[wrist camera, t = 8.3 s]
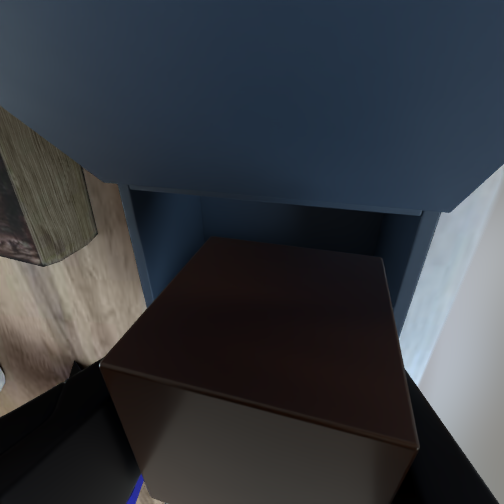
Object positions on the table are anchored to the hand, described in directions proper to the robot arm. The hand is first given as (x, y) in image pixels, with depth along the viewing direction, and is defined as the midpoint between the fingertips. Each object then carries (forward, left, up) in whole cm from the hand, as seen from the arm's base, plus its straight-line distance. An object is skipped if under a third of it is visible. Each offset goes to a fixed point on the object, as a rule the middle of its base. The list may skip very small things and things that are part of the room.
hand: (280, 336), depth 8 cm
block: (0, 0, -1) cm, 1 cm away
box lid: (+2, -5, 0) cm, 5 cm away
